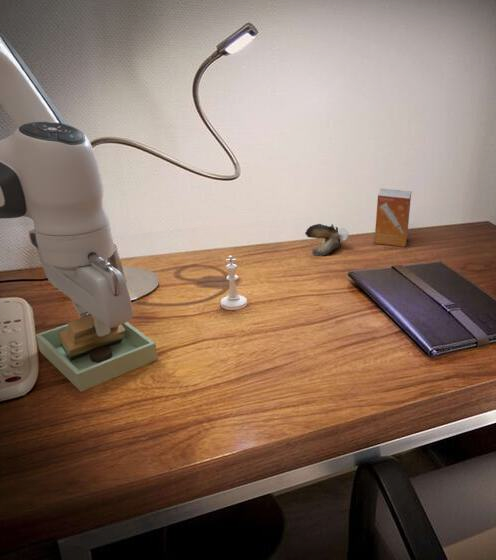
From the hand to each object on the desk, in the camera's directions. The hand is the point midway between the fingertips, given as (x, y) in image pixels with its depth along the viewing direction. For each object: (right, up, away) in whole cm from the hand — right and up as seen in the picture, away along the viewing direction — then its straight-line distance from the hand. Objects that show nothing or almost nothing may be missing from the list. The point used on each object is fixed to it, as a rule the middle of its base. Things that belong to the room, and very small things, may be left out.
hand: (95, 327), depth 80 cm
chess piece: (+14, +3, +21) cm, 25 cm away
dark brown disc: (0, -5, +1) cm, 5 cm away
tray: (-1, -5, +2) cm, 6 cm away
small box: (+43, +17, +56) cm, 73 cm away
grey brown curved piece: (+28, +15, +49) cm, 58 cm away
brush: (-2, -3, +3) cm, 5 cm away
